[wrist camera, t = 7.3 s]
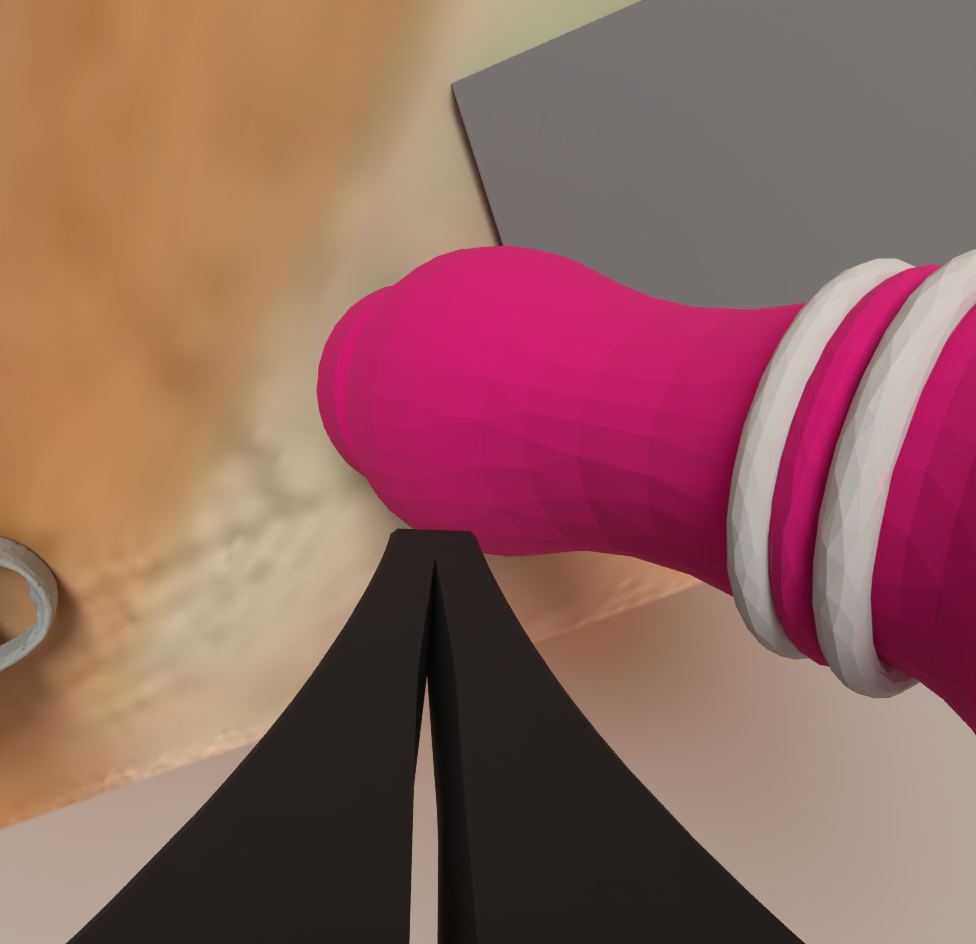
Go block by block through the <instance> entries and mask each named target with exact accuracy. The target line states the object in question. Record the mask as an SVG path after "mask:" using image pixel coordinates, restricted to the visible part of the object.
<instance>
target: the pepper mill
mask: <svg viewBox="0 0 976 944" xmlns="http://www.w3.org/2000/svg"><path fill="white" fill-rule="evenodd" d="M317 397H318V406H319V411H320V415H321V418H322V422H323V425H324V428H325V430H326V432H327V434H328V436H329V438H330V440H331V442H332V443H333V445H334V447H335V448H336V450H337V451H338V452H339V454H340V455H341V456H342V457H343V459H344V460H345V461H346V462H347V463H348V464H349V465H350V466H351V467H352V468H354V469H355V470H356V471H357V472H359V473H360V474H362V475H363V476H365V477H366V478H367V480H368V482H369V483H370V485H371V486H372V488H373V489H374V491H375V492H376V494H377V496H378V497H379V498H380V499H381V500H382V502H383V503H384V504H385V505H386V506H387V508H388V509H389V510H390V511H392V512H393V513H394V514H395V515H397V516H398V517H399V518H400V519H402V520H403V521H404V522H405V523H407V524H408V525H409V526H411V527H412V528H414V529H425V530H455V531H471V532H472V533H473V534H474V535H475V536H476V537H477V540H478V543H479V546H480V548H481V550H482V553H486V554H493V555H501V556H529V555H540V554H550V553H560V552H570V551H593V552H601V553H608V554H616V555H624V556H632V557H635V558H638V559H642V560H645V561H648V562H651V563H654V564H657V565H661V566H664V567H667V568H670V569H673V570H677V571H680V572H683V573H686V574H689V575H692V576H694V577H696V578H698V579H700V580H702V581H703V582H705V583H708V584H709V585H711V586H713V587H715V588H717V589H720V590H721V591H723V592H725V593H727V594H729V595H731V596H733V597H734V601H735V604H736V607H737V609H738V611H739V613H740V615H741V617H742V618H743V621H744V623H745V625H746V627H747V629H748V630H749V631H750V632H751V633H752V634H753V636H754V637H755V638H756V639H757V640H758V642H759V643H761V644H762V645H763V646H764V647H765V648H766V649H768V650H770V651H772V652H774V653H776V654H778V655H779V656H782V657H786V658H791V659H806V658H810V659H812V660H813V661H815V662H816V663H818V664H819V665H824V666H828V667H830V668H831V670H832V672H833V673H834V674H835V675H836V676H837V678H838V679H839V680H840V681H841V682H842V683H843V684H844V685H845V686H846V687H847V688H849V689H851V690H852V691H854V692H856V693H858V694H861V695H865V696H869V697H872V698H889V697H892V696H895V695H897V694H900V693H902V692H904V691H905V690H907V689H909V688H911V687H912V686H914V685H916V684H917V683H919V682H921V683H923V684H924V685H925V686H926V687H927V688H929V689H930V690H931V691H933V692H934V693H935V694H937V695H938V696H939V697H941V698H942V699H944V701H945V702H946V703H947V704H948V705H949V706H950V707H951V708H952V709H953V710H954V711H955V712H956V713H957V714H958V715H959V716H960V717H961V719H962V720H963V721H964V722H965V723H967V725H968V726H969V727H970V728H971V729H972V730H973V732H974V733H975V734H976V249H975V250H971V251H969V252H967V253H964V254H962V255H960V256H957V257H955V258H953V259H951V260H950V261H949V262H947V263H946V264H945V265H943V266H942V265H936V264H930V265H925V266H919V267H915V266H913V265H910V264H908V263H906V262H903V261H901V260H899V259H875V260H872V261H869V262H866V263H863V264H860V265H857V266H855V267H852V268H849V269H847V270H845V271H843V272H842V273H840V274H839V275H838V276H836V277H835V278H834V279H832V280H831V281H829V282H828V283H827V284H825V285H824V286H823V287H822V288H821V289H820V290H819V291H818V292H817V293H816V294H815V295H814V296H813V297H812V298H811V299H810V301H809V302H808V303H800V304H792V305H784V306H777V307H769V308H761V309H731V308H709V307H692V306H688V305H684V304H680V303H676V302H671V301H667V300H663V299H659V298H655V297H651V296H648V295H646V294H644V293H641V292H639V291H637V290H634V289H632V288H630V287H627V286H625V285H622V284H620V283H618V282H616V281H614V280H612V279H610V278H608V277H607V276H605V275H603V274H601V273H599V272H597V271H595V270H593V269H591V268H589V267H587V266H585V265H583V264H581V263H579V262H577V261H575V260H572V259H570V258H567V257H564V256H560V255H557V254H553V253H549V252H545V251H541V250H537V249H533V248H525V247H516V246H494V247H480V248H470V249H460V250H457V251H453V252H450V253H447V254H444V255H440V256H438V257H436V258H434V259H432V260H430V261H428V262H427V263H425V264H423V265H421V266H419V267H417V268H416V269H414V270H413V271H412V272H411V273H409V274H408V275H407V276H405V277H404V278H403V279H402V280H400V281H399V282H398V283H396V284H395V285H393V286H388V287H384V288H382V289H380V290H377V291H375V292H373V293H371V294H370V295H368V296H366V297H364V298H363V299H361V300H360V301H359V302H357V303H356V304H355V305H353V306H352V307H351V308H350V309H349V310H348V311H347V312H346V313H345V315H344V316H343V317H342V318H341V319H340V321H339V322H338V323H337V324H336V325H335V327H334V329H333V331H332V333H331V334H330V336H329V338H328V340H327V342H326V344H325V347H324V350H323V353H322V357H321V360H320V364H319V370H318V382H317Z"/></svg>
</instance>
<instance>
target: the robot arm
mask: <svg viewBox="0 0 976 944" xmlns="http://www.w3.org/2000/svg"><path fill="white" fill-rule="evenodd" d="M426 679H427V680H428V695H429V707H430V721H431V736H432V749H433V763H434V777H435V790H436V803H437V821H438V822H437V823H438V944H805V943H804V942H803V941H802V940H800V939H799V938H798V937H797V936H796V935H795V934H794V933H792V931H790V930H789V929H788V928H787V927H786V926H785V925H784V924H783V923H782V922H781V921H780V920H779V919H777V918H776V917H775V916H774V915H773V914H772V913H771V912H770V911H769V910H768V909H767V908H765V907H764V906H763V905H762V904H761V903H760V902H759V901H758V900H757V899H756V898H755V897H754V896H753V895H751V894H750V893H749V892H748V891H747V890H746V889H745V888H744V887H743V886H742V885H741V884H740V883H739V882H738V881H737V880H736V879H735V878H734V877H733V876H732V875H731V874H730V873H729V872H728V871H727V870H726V869H725V868H724V867H723V866H722V865H721V864H720V863H719V862H718V861H717V860H716V859H714V858H713V857H712V856H711V855H710V854H709V853H708V852H707V851H706V850H705V849H704V848H703V847H702V846H701V845H700V844H699V843H698V842H697V841H696V840H695V839H694V838H693V837H692V836H691V835H690V834H689V832H688V831H687V830H686V829H685V828H684V827H683V826H682V825H681V824H680V823H679V822H678V821H677V820H676V819H675V818H674V817H673V815H671V814H670V812H669V811H668V810H667V809H666V808H665V807H664V806H663V805H662V804H661V803H660V802H659V801H658V800H657V799H656V797H654V795H653V794H652V793H651V792H650V791H649V790H648V789H647V788H646V787H645V786H644V785H643V784H642V783H641V781H640V780H639V779H638V778H637V777H636V776H635V775H634V774H633V773H632V772H631V771H630V770H629V769H628V768H627V766H626V765H625V764H624V763H623V762H622V760H621V759H620V758H619V757H618V756H617V755H616V753H615V752H614V751H613V750H612V749H611V748H610V746H609V745H608V744H607V743H606V742H605V740H604V739H603V738H602V737H601V736H600V734H598V732H597V731H596V730H595V728H594V727H593V726H592V725H591V723H590V722H589V721H588V720H587V718H586V717H585V716H584V714H583V713H582V712H581V711H580V709H579V708H578V707H577V706H576V704H575V703H574V702H573V701H572V699H571V698H570V697H569V695H568V694H567V692H566V691H565V690H564V688H563V687H562V686H561V684H560V683H559V681H558V680H557V679H556V677H555V676H554V675H553V673H552V672H551V670H550V669H549V667H548V666H547V664H546V663H545V661H544V660H543V658H542V657H541V656H540V654H539V653H538V651H537V650H536V648H535V647H534V645H533V643H532V642H531V640H530V639H529V637H528V636H527V634H526V632H525V631H524V629H523V628H522V626H521V624H520V622H519V621H518V619H517V617H516V616H515V614H514V612H513V611H512V609H511V607H510V606H509V604H508V602H507V601H506V599H505V597H504V595H503V593H502V591H501V590H500V588H499V586H498V584H497V582H496V580H495V578H494V576H493V574H492V572H491V570H490V568H489V566H488V564H487V562H486V560H485V557H484V555H483V553H482V550H481V548H480V546H479V543H478V540H477V537H476V536H475V535H474V534H473V533H472V532H471V531H455V530H425V529H397V530H395V531H394V532H393V533H391V535H390V538H389V542H388V545H387V547H386V550H385V552H384V555H383V557H382V559H381V561H380V563H379V566H378V568H377V570H376V572H375V574H374V575H373V577H372V579H371V581H370V583H369V585H368V587H367V589H366V590H365V592H364V594H363V596H362V597H361V599H360V601H359V603H358V604H357V606H356V608H355V609H354V611H353V613H352V615H351V616H350V618H349V620H348V621H347V623H346V624H345V626H344V628H343V629H342V631H341V632H340V634H339V635H338V637H337V638H336V640H335V641H334V643H333V644H332V646H331V647H330V649H329V650H328V652H327V653H326V654H325V656H324V657H323V659H322V660H321V662H320V663H319V665H318V666H317V668H316V669H315V671H314V672H313V673H312V675H311V676H310V678H309V679H308V680H307V682H306V683H305V684H304V686H303V687H302V688H301V690H300V691H299V692H298V694H297V695H296V696H295V698H294V699H293V700H292V702H291V703H290V704H289V705H288V707H287V708H286V709H285V710H284V712H283V713H282V714H281V715H280V717H279V718H278V719H277V721H276V722H275V723H274V724H273V726H272V727H271V728H270V729H269V731H268V732H267V733H266V734H265V735H264V737H263V738H262V739H261V740H260V741H259V742H258V744H257V745H256V746H255V747H254V748H253V749H252V751H251V752H250V753H249V754H248V755H247V756H246V758H245V759H244V760H243V761H242V762H241V763H240V764H239V766H238V767H237V768H236V769H235V770H234V771H233V773H232V774H231V775H230V776H229V777H228V779H227V780H226V781H225V782H224V783H223V784H222V785H221V786H220V787H219V789H218V790H217V791H216V792H215V793H214V794H213V795H212V796H211V798H209V800H208V801H207V802H206V803H205V804H204V805H203V806H202V807H201V808H200V810H198V812H197V813H196V814H195V815H194V816H193V817H192V818H191V819H190V820H189V821H188V822H187V823H186V824H185V825H184V826H183V827H182V828H181V829H180V830H179V831H178V832H177V833H176V834H175V835H174V836H173V837H172V838H171V839H170V840H169V842H168V843H167V844H166V845H165V846H164V847H163V848H162V849H161V850H160V851H159V852H158V853H157V854H156V855H155V856H154V857H153V858H152V859H151V860H150V861H149V862H148V863H147V864H146V865H145V866H144V867H143V868H142V869H141V870H140V871H139V872H138V873H137V874H136V875H135V876H134V878H132V879H131V880H130V882H129V883H128V884H127V885H126V886H125V887H124V888H123V889H122V890H121V891H120V892H119V893H118V894H117V895H116V896H115V897H114V898H113V899H112V900H111V901H110V902H109V903H108V904H107V905H106V906H105V907H104V908H103V909H102V910H101V911H100V912H99V913H98V914H97V915H96V916H95V917H93V918H92V920H90V921H89V922H88V923H87V924H86V925H85V926H84V927H83V928H82V929H81V930H80V931H79V932H78V933H77V934H76V935H75V936H74V937H73V938H72V939H70V940H69V941H68V942H67V943H66V944H409V939H410V903H411V866H412V832H413V798H414V796H413V795H414V780H415V772H416V764H417V756H418V747H419V738H420V730H421V721H422V713H423V705H424V695H425V688H426Z"/></svg>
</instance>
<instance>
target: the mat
mask: <svg viewBox="0 0 976 944" xmlns="http://www.w3.org/2000/svg"><path fill="white" fill-rule="evenodd" d="M451 86H452V89H453V93H454V96H455V99H456V102H457V105H458V108H459V111H460V114H461V118H462V121H463V124H464V127H465V130H466V133H467V136H468V139H469V143H470V146H471V149H472V152H473V155H474V158H475V161H476V164H477V168H478V171H479V174H480V177H481V180H482V183H483V186H484V189H485V193H486V196H487V199H488V202H489V205H490V208H491V211H492V214H493V218H494V221H495V224H496V227H497V230H498V233H499V236H500V239H501V243H502V246H516V247H525V248H533V249H537V250H541V251H545V252H549V253H553V254H557V255H560V256H564V257H567V258H570V259H572V260H575V261H577V262H579V263H581V264H583V265H585V266H587V267H589V268H591V269H593V270H595V271H597V272H599V273H601V274H603V275H605V276H607V277H608V278H610V279H612V280H614V281H616V282H618V283H620V284H622V285H625V286H627V287H630V288H632V289H634V290H637V291H639V292H641V293H644V294H646V295H648V296H651V297H655V298H659V299H663V300H667V301H671V302H676V303H680V304H684V305H688V306H692V307H709V308H731V309H761V308H769V307H777V306H784V305H792V304H800V303H808V302H809V301H810V299H811V298H812V297H813V296H814V295H815V294H816V293H817V292H818V291H819V290H820V289H821V288H822V287H823V286H824V285H825V284H827V283H828V282H829V281H831V280H832V279H834V278H835V277H836V276H838V275H839V274H840V273H842V272H843V271H845V270H847V269H849V268H852V267H855V266H857V265H860V264H863V263H866V262H869V261H872V260H875V259H899V260H901V261H903V262H906V263H908V264H910V265H913V266H915V267H919V266H925V265H930V264H936V265H942V266H943V265H945V264H946V263H947V262H949V261H950V260H951V259H953V258H955V257H957V256H960V255H962V254H964V253H967V252H969V251H971V250H975V249H976V0H642V1H640V2H637V3H635V4H633V5H630V6H628V7H626V8H624V9H621V10H619V11H617V12H614V13H612V14H610V15H608V16H605V17H603V18H601V19H598V20H596V21H594V22H592V23H589V24H587V25H585V26H582V27H580V28H578V29H576V30H573V31H571V32H569V33H566V34H564V35H562V36H560V37H557V38H555V39H553V40H550V41H548V42H546V43H543V44H541V45H539V46H537V47H534V48H532V49H530V50H527V51H525V52H523V53H521V54H518V55H516V56H514V57H511V58H509V59H507V60H505V61H502V62H500V63H498V64H495V65H493V66H491V67H489V68H486V69H484V70H482V71H479V72H477V73H475V74H473V75H470V76H468V77H466V78H463V79H461V80H459V81H456V82H454V83H452V84H451Z"/></svg>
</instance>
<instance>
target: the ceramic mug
mask: <svg viewBox="0 0 976 944" xmlns="http://www.w3.org/2000/svg"><path fill="white" fill-rule="evenodd" d="M0 567H4V568H8V569H11V570H14V571H16V572H18V573H19V574H20V575H21V576H23V577H24V578H25V579H26V580H27V582H28V584H29V586H30V594H29V597H30V599H31V600H32V601H33V602H34V603H35V604H36V606H37V610H36V618H37V620H36V621H35V622H34V623H33V624H32V625H30V626H29V627H28V628H27V629H26V630H25V631H24V632H22V633H21V634H19V635H17V636H16V637H15V638H13V639H12V640H10V641H8V642H6V643H4V644H2V645H1V646H0V671H2V670H4V669H5V668H7V667H9V666H11V665H13V664H15V663H17V662H18V661H19V660H20V659H22V658H23V657H25V656H26V655H28V654H29V653H30V652H31V651H32V650H33V649H34V648H35V647H36V646H37V645H38V644H39V643H40V642H41V641H42V639H43V638H44V637H45V635H46V633H47V632H48V630H49V628H50V626H51V625H52V622H53V619H54V615H55V612H56V609H57V604H58V598H59V597H58V588H57V582H56V580H55V578H54V576H53V574H52V572H51V570H50V569H49V568H48V567H47V565H46V564H45V563H44V562H43V561H42V560H41V559H40V558H39V557H38V556H37V555H36V554H35V553H34V552H32V551H31V550H30V549H28V548H27V547H25V546H23V545H21V544H19V543H16V542H14V541H12V540H9V539H6V538H3V537H0Z"/></svg>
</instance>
